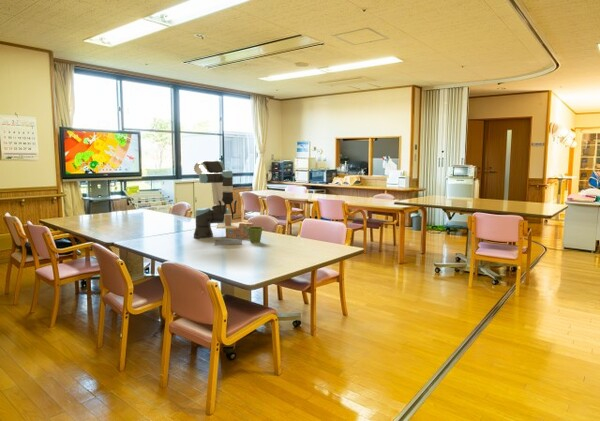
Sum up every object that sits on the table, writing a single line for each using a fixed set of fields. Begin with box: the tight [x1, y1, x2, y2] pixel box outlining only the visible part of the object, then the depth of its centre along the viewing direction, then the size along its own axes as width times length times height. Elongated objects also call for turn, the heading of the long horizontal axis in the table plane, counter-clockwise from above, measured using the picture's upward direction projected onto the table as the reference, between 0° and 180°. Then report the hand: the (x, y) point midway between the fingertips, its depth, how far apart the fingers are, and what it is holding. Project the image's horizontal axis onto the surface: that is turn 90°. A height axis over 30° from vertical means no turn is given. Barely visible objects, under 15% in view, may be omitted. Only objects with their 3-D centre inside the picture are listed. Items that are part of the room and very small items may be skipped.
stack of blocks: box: [225, 221, 254, 239], centre depth 326 cm, size 21×6×12 cm, turn 80°
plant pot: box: [248, 226, 264, 244], centre depth 307 cm, size 12×12×11 cm
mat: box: [213, 238, 243, 247], centre depth 305 cm, size 20×20×1 cm
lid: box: [216, 213, 239, 230], centre depth 303 cm, size 16×16×9 cm
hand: (228, 222), depth 304 cm, fingers closed on lid, 4 cm apart
